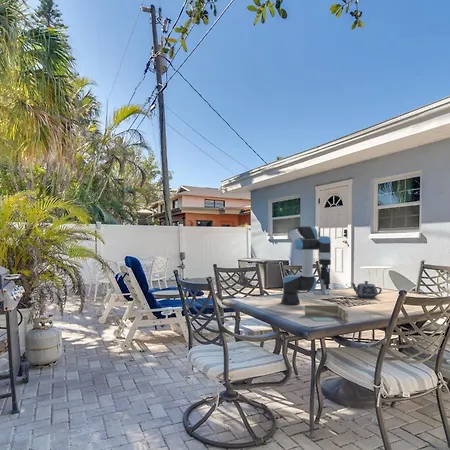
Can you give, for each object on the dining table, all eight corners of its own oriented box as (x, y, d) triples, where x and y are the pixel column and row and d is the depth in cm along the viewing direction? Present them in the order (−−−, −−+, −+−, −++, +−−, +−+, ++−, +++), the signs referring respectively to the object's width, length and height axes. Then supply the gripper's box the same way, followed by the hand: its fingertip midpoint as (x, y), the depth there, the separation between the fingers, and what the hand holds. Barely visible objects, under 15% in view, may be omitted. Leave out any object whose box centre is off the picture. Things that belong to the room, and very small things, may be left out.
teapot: (355, 293, 326) (355, 278, 327) (386, 298, 302) (386, 281, 303) (345, 295, 314) (344, 280, 315) (376, 300, 290) (376, 283, 291)
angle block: (326, 293, 224) (326, 279, 225) (329, 295, 218) (329, 280, 219) (313, 293, 224) (313, 279, 225) (315, 295, 218) (315, 280, 219)
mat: (310, 317, 226) (310, 316, 226) (329, 317, 226) (329, 317, 226) (314, 321, 216) (314, 320, 216) (333, 321, 216) (333, 320, 216)
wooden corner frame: (304, 315, 233) (304, 305, 233) (338, 315, 232) (338, 305, 233) (311, 321, 215) (311, 310, 215) (348, 321, 214) (347, 310, 215)
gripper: (315, 258, 232) (315, 291, 231) (323, 259, 213) (323, 295, 212) (326, 258, 232) (326, 291, 231) (335, 259, 213) (335, 295, 212)
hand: (325, 293), depth 221 cm, fingers closed on angle block, 6 cm apart
